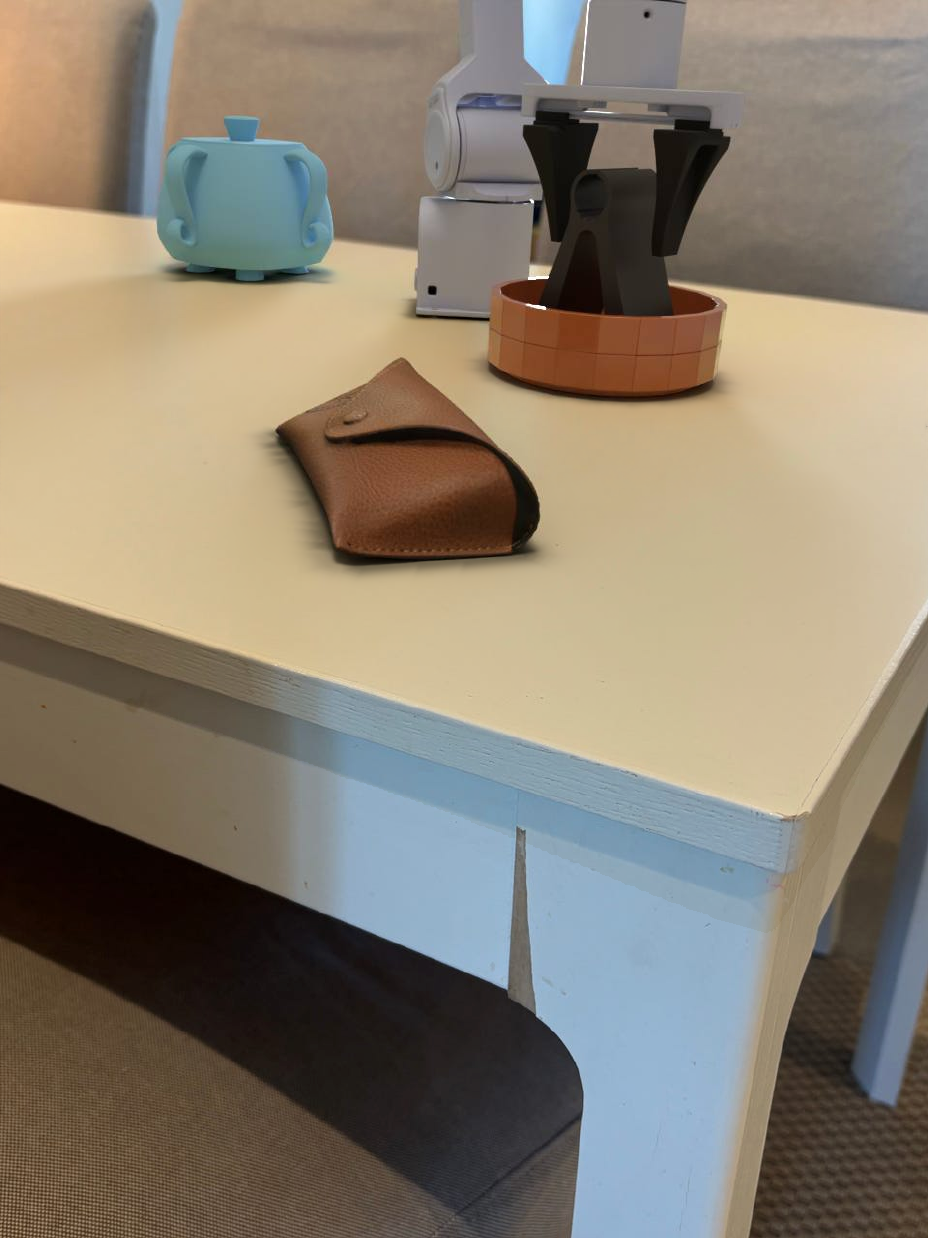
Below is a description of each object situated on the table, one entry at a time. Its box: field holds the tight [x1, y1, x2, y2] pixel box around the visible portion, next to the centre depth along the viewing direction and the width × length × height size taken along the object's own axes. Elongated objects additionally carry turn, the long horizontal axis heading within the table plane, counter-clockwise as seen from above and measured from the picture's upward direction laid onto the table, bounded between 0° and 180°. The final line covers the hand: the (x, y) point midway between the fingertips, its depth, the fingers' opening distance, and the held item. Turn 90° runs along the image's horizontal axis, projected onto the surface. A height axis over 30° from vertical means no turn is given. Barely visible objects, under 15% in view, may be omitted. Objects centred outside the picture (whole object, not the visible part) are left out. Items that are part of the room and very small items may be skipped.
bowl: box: [487, 276, 728, 398], centre depth 71 cm, size 15×15×5 cm
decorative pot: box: [156, 115, 334, 282], centre depth 100 cm, size 16×16×14 cm
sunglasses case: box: [274, 356, 541, 560], centre depth 49 cm, size 18×7×7 cm
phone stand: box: [538, 167, 674, 316], centre depth 69 cm, size 9×6×12 cm, turn 50°
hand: (612, 247), depth 68 cm, fingers open, 7 cm apart
